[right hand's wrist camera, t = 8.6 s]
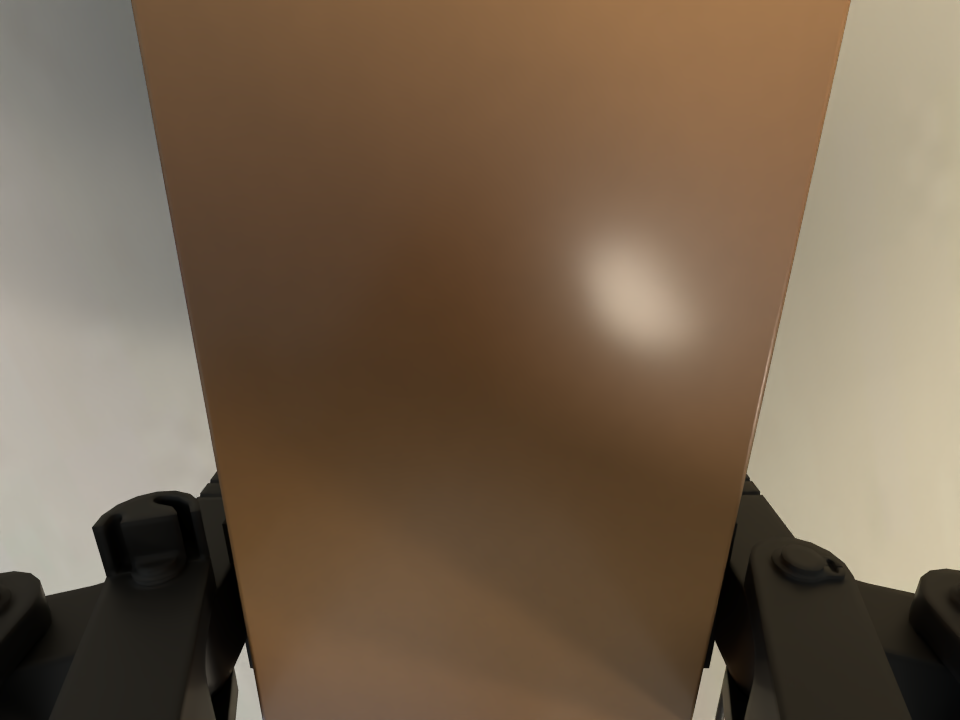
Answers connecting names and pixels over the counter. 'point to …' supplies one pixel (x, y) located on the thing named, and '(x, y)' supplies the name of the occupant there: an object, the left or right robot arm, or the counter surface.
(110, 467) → the counter surface
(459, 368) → the beam
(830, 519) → the counter surface
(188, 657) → the right robot arm
